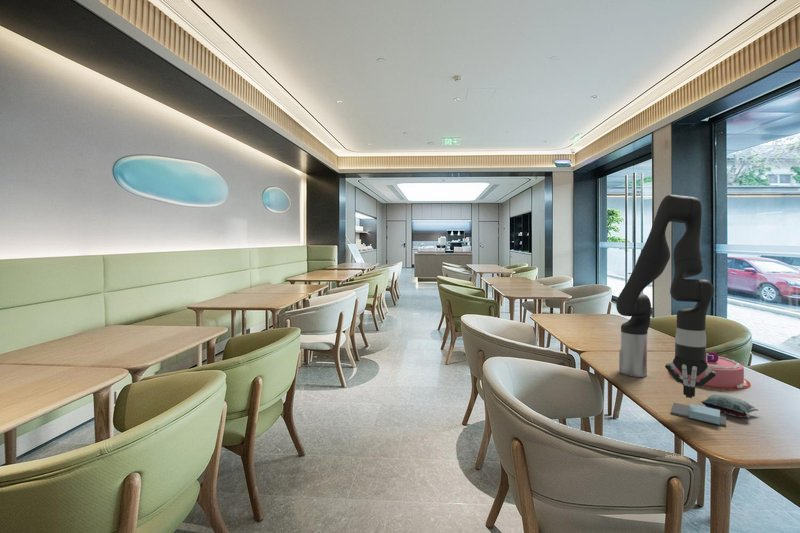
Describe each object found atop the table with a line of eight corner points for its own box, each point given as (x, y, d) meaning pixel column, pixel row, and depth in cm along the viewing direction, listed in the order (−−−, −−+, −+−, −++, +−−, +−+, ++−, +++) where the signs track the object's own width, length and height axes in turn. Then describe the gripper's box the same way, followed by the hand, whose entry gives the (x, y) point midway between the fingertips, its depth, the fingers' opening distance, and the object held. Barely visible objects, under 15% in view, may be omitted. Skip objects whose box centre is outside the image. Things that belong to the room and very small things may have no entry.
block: (690, 403, 114) (689, 410, 110) (720, 410, 110) (719, 417, 105) (690, 410, 115) (688, 417, 110) (719, 417, 110) (719, 424, 105)
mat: (670, 413, 114) (670, 411, 114) (673, 404, 121) (673, 402, 121) (726, 426, 105) (726, 424, 105) (726, 415, 112) (726, 413, 112)
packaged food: (710, 402, 122) (711, 387, 122) (758, 415, 112) (759, 400, 112) (699, 409, 117) (700, 394, 117) (749, 423, 107) (749, 407, 107)
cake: (739, 373, 148) (740, 347, 148) (760, 395, 127) (762, 365, 126) (664, 364, 161) (665, 340, 161) (672, 383, 140) (673, 355, 139)
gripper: (662, 341, 115) (661, 395, 116) (718, 349, 106) (716, 407, 107) (665, 337, 120) (664, 388, 121) (718, 343, 112) (717, 398, 112)
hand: (689, 397), depth 114 cm, fingers closed
